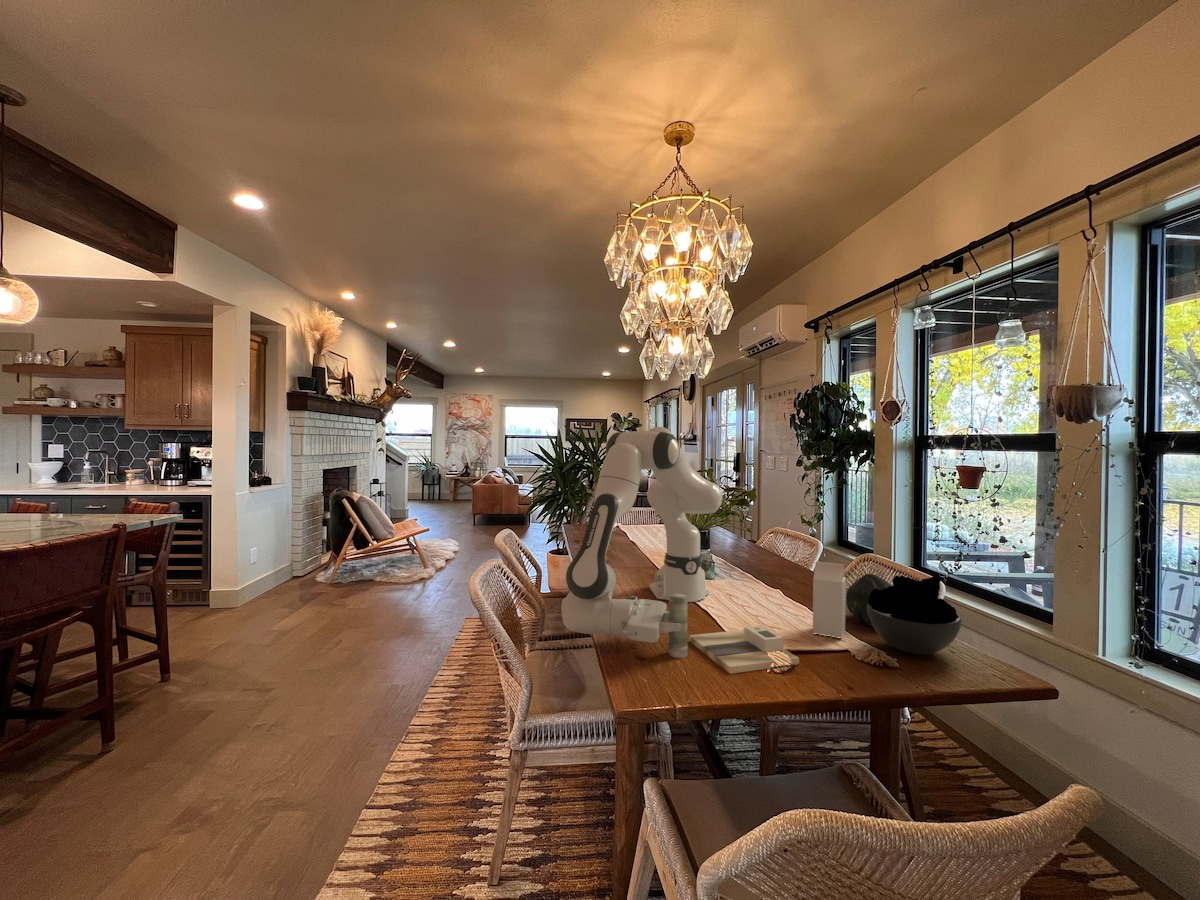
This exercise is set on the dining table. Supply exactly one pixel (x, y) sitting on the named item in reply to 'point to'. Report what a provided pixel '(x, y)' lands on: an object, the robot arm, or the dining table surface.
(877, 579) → the squash
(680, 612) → the green cylinder
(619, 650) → the dining table surface
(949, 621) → the heaped grey bowl
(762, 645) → the block
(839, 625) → the milk carton
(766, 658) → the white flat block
